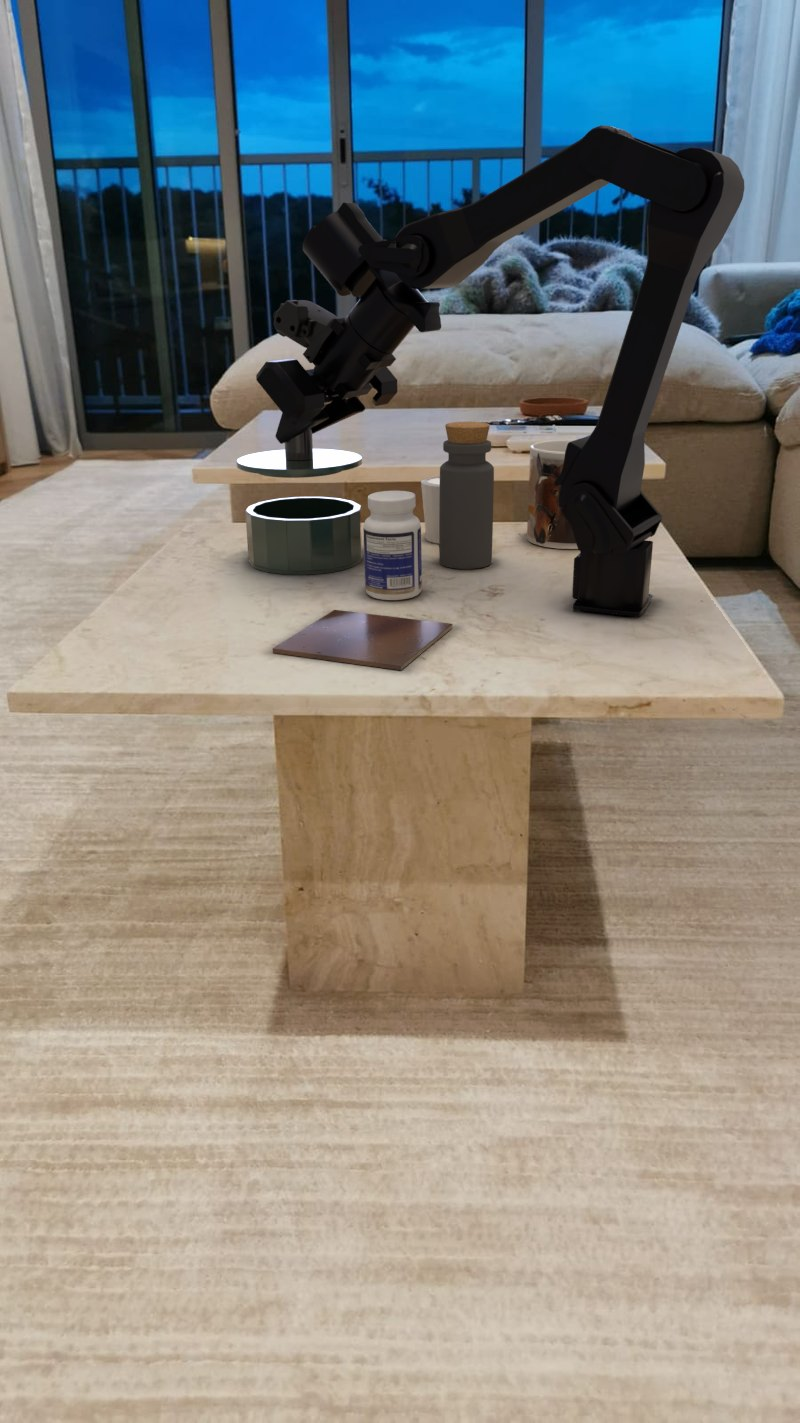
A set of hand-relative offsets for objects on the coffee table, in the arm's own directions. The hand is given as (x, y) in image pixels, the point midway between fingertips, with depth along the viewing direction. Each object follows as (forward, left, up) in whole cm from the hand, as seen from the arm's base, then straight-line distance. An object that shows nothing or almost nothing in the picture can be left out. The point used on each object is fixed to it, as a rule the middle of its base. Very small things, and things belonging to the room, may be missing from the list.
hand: (288, 438), depth 116 cm
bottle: (-19, -6, -14) cm, 24 cm away
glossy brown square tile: (-19, +23, -13) cm, 33 cm away
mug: (-27, -19, -14) cm, 36 cm away
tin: (-1, 0, -13) cm, 14 cm away
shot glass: (-13, -15, -14) cm, 24 cm away
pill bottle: (-16, +8, -14) cm, 23 cm away
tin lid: (-1, 0, -3) cm, 3 cm away
